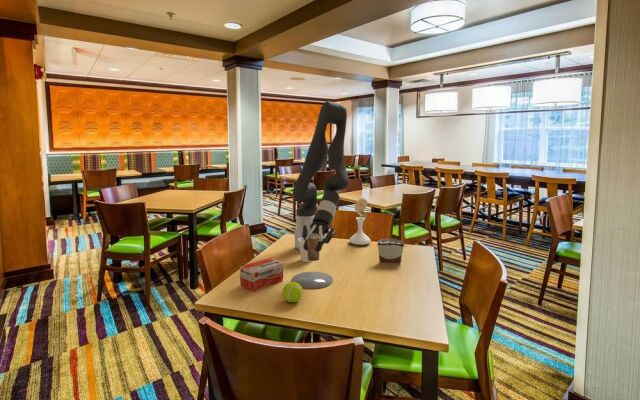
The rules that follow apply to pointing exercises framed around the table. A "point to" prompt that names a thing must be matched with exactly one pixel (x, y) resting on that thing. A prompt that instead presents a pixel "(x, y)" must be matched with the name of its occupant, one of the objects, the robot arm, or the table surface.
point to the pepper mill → (312, 246)
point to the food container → (390, 251)
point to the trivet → (313, 280)
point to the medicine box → (261, 274)
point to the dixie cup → (303, 250)
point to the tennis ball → (292, 292)
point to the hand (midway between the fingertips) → (311, 250)
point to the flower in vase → (360, 224)
